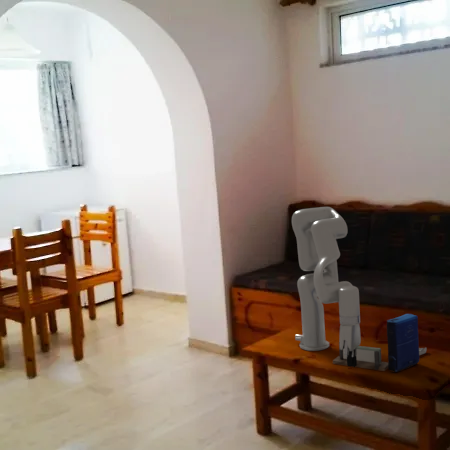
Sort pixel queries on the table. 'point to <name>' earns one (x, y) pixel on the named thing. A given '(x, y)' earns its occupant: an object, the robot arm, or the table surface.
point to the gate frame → (363, 362)
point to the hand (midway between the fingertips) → (352, 365)
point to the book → (402, 342)
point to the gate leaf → (366, 354)
